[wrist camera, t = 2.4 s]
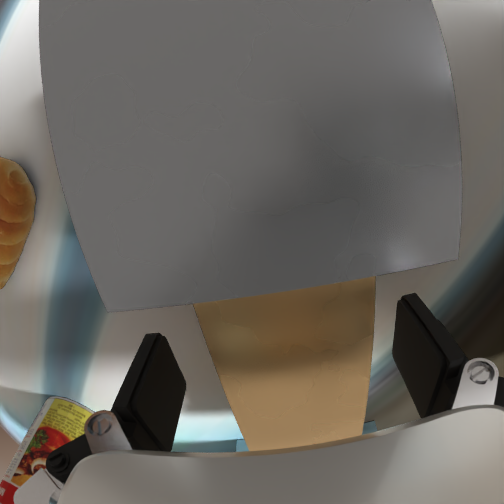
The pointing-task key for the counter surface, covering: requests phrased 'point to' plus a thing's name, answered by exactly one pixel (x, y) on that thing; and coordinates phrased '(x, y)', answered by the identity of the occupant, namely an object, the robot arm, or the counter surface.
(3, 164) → the pastry
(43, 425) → the canned food
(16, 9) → the counter surface
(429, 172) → the gray square block
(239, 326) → the tan wooden plank
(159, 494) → the robot arm
